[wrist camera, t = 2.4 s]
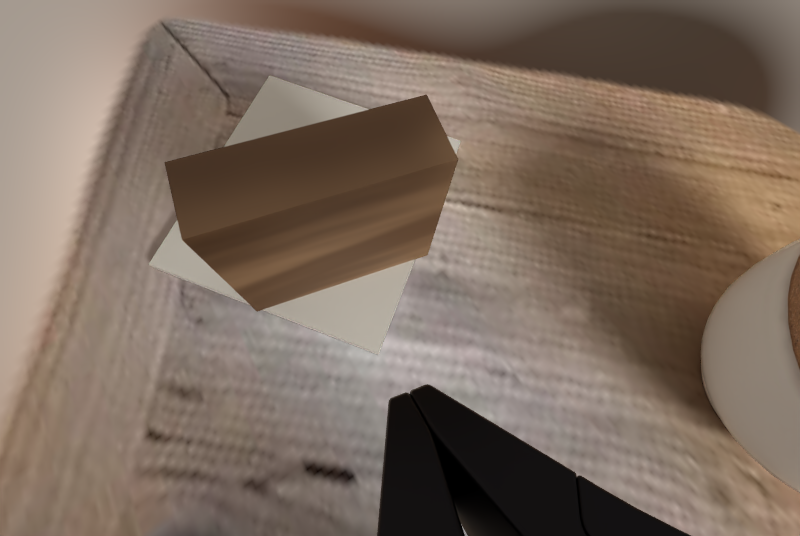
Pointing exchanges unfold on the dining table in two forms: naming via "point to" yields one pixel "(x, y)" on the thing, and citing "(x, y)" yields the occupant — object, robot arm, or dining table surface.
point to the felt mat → (327, 309)
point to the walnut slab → (316, 201)
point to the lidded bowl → (759, 362)
